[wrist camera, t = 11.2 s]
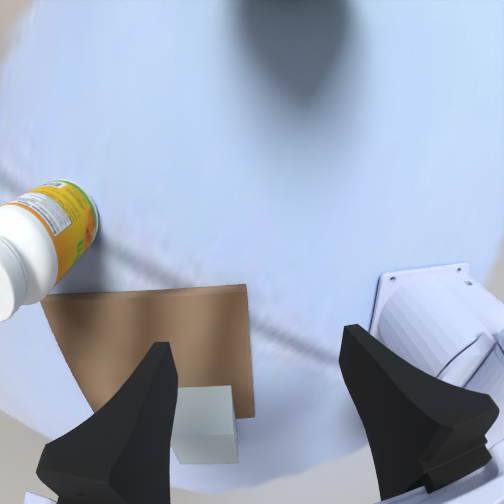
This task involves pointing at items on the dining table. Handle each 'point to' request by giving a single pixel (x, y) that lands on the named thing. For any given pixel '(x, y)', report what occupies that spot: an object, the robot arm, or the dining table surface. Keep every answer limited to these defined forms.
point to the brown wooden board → (156, 338)
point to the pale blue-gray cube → (205, 426)
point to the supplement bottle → (42, 241)
